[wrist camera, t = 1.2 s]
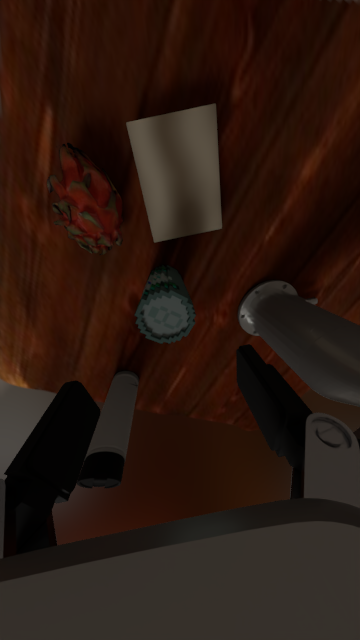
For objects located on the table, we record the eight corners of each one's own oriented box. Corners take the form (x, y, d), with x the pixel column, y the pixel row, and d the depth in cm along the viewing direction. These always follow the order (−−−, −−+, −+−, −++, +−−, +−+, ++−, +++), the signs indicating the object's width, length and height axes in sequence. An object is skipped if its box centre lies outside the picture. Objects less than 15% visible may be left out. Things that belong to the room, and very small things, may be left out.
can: (156, 259, 28) (150, 280, 15) (186, 275, 30) (205, 307, 16) (143, 289, 30) (127, 331, 17) (171, 302, 32) (177, 349, 19)
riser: (207, 125, 21) (215, 103, 17) (214, 229, 27) (222, 228, 23) (132, 141, 21) (125, 122, 17) (155, 241, 27) (154, 242, 23)
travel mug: (141, 371, 40) (124, 479, 22) (136, 389, 43) (117, 497, 25) (115, 367, 38) (75, 478, 21) (112, 385, 41) (73, 498, 24)
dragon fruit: (109, 257, 29) (91, 174, 25) (144, 252, 24) (129, 150, 20) (55, 259, 22) (18, 145, 18) (90, 252, 17) (51, 99, 13)
